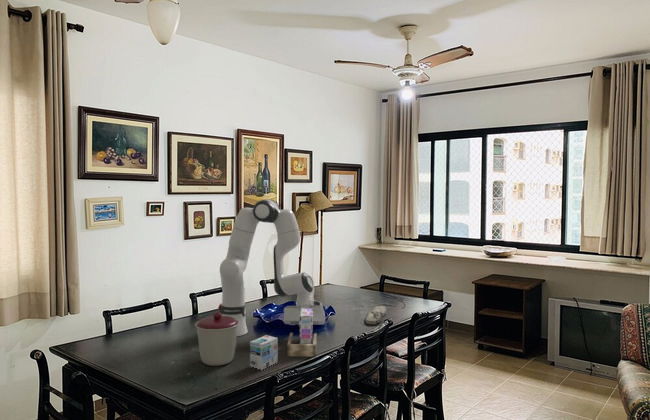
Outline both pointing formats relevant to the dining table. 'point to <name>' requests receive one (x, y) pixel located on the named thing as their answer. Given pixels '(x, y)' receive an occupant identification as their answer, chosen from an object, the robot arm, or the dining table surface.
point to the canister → (217, 339)
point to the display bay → (301, 347)
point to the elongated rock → (375, 315)
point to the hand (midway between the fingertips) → (303, 331)
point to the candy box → (306, 326)
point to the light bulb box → (263, 352)
